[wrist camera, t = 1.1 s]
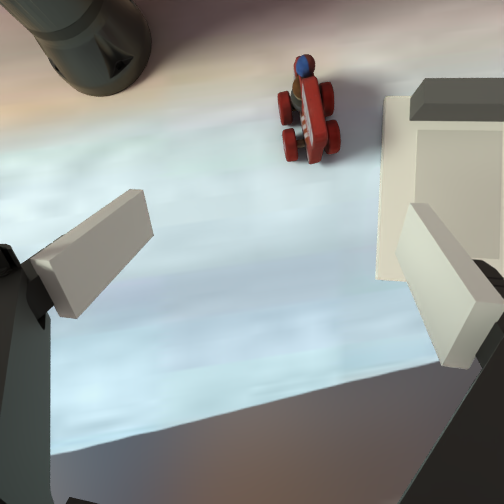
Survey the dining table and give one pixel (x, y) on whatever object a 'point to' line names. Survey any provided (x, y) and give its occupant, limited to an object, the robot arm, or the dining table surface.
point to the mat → (441, 183)
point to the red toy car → (309, 114)
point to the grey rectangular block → (458, 100)
